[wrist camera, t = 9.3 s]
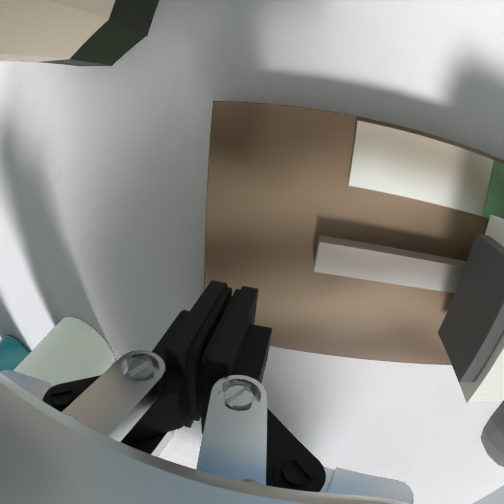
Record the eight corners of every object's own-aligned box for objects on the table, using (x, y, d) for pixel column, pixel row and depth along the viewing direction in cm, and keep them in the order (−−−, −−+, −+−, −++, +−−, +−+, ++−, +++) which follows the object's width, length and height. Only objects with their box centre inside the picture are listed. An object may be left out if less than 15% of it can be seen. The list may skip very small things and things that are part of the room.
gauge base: (545, 349, 17) (585, 419, 8) (213, 315, 21) (154, 428, 12) (599, 214, 11) (667, 262, 2) (224, 103, 15) (118, 83, 6)
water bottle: (56, 295, 24) (-107, 464, 2) (125, 347, 25) (-20, 560, 2) (53, 343, 28) (-68, 486, 5) (111, 387, 28) (4, 554, 6)
